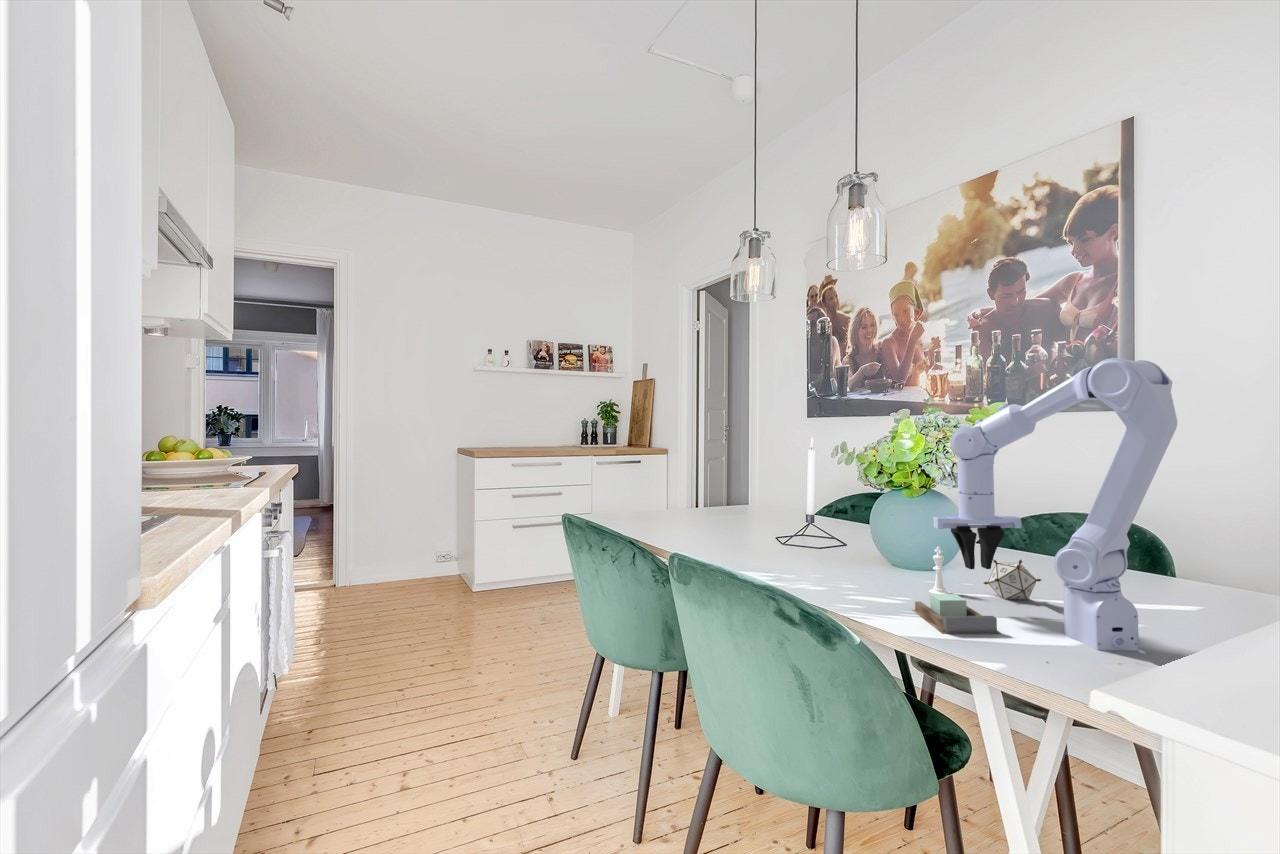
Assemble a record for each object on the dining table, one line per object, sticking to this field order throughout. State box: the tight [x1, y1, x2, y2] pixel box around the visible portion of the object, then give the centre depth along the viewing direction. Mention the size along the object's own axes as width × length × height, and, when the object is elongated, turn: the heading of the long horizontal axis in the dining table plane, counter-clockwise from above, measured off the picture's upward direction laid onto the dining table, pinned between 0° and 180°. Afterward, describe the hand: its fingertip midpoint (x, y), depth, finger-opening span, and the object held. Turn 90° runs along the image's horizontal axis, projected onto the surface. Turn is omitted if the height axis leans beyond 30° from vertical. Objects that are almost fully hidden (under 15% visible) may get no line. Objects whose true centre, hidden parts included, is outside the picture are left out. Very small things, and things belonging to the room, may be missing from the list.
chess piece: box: [928, 546, 951, 594], centre depth 122 cm, size 5×5×10 cm
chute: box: [911, 601, 1001, 635], centre depth 103 cm, size 13×9×4 cm
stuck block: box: [929, 593, 967, 617], centre depth 105 cm, size 4×4×4 cm
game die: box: [983, 558, 1042, 600], centre depth 117 cm, size 9×8×10 cm
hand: (977, 568), depth 110 cm, fingers open, 2 cm apart
